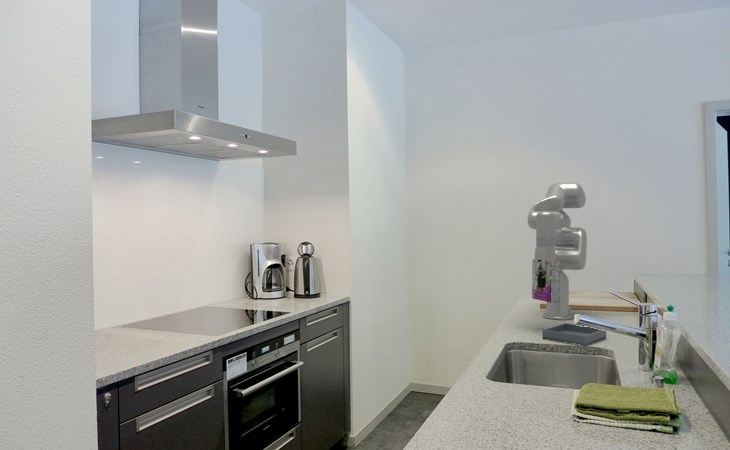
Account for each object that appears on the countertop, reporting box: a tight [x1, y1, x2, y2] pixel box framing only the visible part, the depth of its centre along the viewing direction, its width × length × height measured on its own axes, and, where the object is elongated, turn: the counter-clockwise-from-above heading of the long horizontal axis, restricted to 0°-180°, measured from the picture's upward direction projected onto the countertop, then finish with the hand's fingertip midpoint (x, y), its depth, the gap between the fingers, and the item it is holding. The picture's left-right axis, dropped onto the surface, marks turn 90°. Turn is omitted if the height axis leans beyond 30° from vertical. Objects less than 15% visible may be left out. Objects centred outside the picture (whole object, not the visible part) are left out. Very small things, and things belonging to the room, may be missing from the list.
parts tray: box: [542, 322, 607, 347], centre depth 208 cm, size 18×16×4 cm
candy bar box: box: [531, 259, 560, 303], centre depth 223 cm, size 11×5×16 cm, turn 24°
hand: (545, 286), depth 223 cm, fingers closed on candy bar box, 6 cm apart
